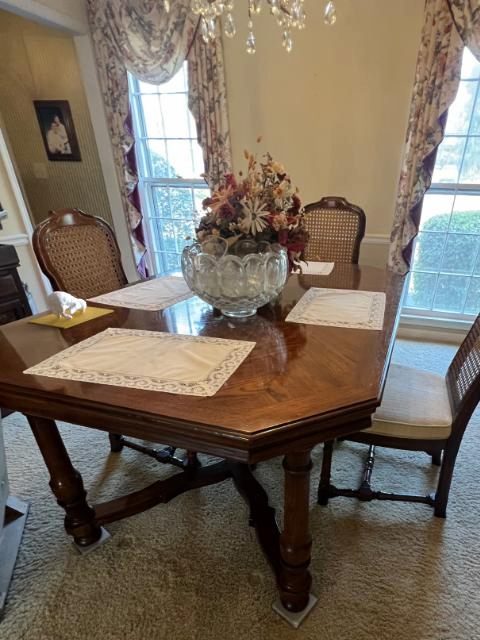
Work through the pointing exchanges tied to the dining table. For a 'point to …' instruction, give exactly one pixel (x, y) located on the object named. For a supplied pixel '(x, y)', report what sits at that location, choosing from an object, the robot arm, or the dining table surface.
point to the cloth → (76, 317)
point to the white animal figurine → (65, 304)
